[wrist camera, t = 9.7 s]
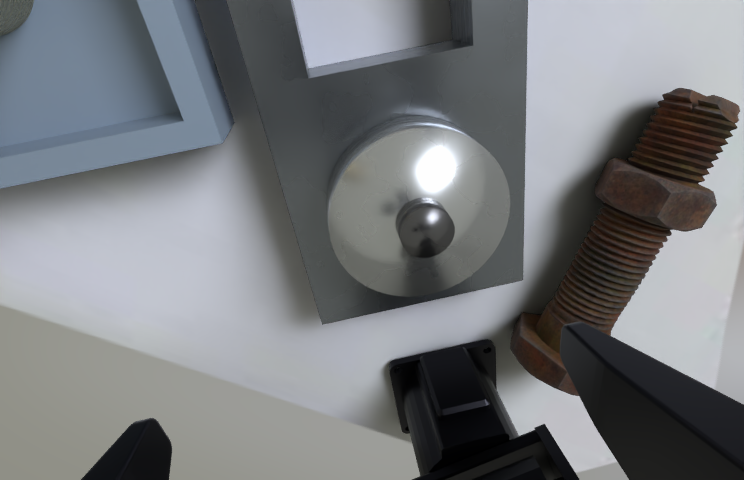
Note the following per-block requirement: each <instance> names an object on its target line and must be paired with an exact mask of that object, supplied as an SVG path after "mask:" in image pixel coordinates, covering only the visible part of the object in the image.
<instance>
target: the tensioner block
mask: <svg viewBox="0 0 744 480" xmlns="http://www.w3.org/2000/svg"><path fill="white" fill-rule="evenodd" d="M226 1H227V5H228V8H229V11H230V15H231V18H232V22H233V25H234V28H235V32H236V35H237V38H238V42H239V45H240V49H241V52H242V55H243V59H244V62H245V65H246V69H247V72H248V76H249V79H250V82H251V86H252V89H253V92H254V96H255V99H256V103H257V106H258V109H259V113H260V116H261V119H262V123H263V126H264V130H265V133H266V136H267V140H268V143H269V146H270V150H271V153H272V157H273V160H274V163H275V167H276V170H277V173H278V177H279V180H280V184H281V187H282V190H283V194H284V197H285V200H286V204H287V207H288V211H289V214H290V217H291V221H292V224H293V227H294V231H295V234H296V238H297V241H298V244H299V248H300V251H301V254H302V258H303V261H304V265H305V268H306V271H307V275H308V278H309V281H310V285H311V288H312V292H313V295H314V298H315V302H316V305H317V308H318V312H319V315H320V319H321V322H322V325H323V324H327V323H332V322H336V321H341V320H345V319H350V318H354V317H359V316H363V315H368V314H372V313H377V312H381V311H386V310H390V309H395V308H400V307H404V306H409V305H413V304H418V303H422V302H427V301H431V300H436V299H440V298H445V297H449V296H454V295H458V294H463V293H467V292H472V291H476V290H481V289H485V288H490V287H495V286H499V285H504V284H508V283H513V282H517V281H522V280H523V247H524V190H525V133H526V76H527V19H528V0H450V10H451V25H452V40H450V41H445V42H440V43H435V44H430V45H425V46H420V47H415V48H410V49H405V50H400V51H395V52H390V53H385V54H380V55H375V56H370V57H365V58H360V59H355V60H349V61H344V62H339V63H334V64H329V65H324V66H319V67H314V68H309V69H308V66H307V61H306V57H305V53H304V48H303V44H302V39H301V35H300V31H299V26H298V22H297V17H296V13H295V9H294V4H293V0H226Z"/></svg>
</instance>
